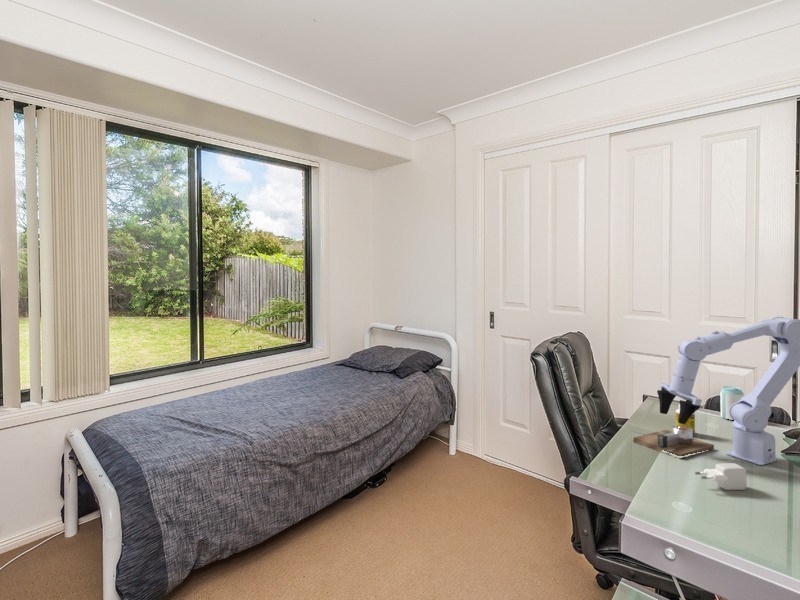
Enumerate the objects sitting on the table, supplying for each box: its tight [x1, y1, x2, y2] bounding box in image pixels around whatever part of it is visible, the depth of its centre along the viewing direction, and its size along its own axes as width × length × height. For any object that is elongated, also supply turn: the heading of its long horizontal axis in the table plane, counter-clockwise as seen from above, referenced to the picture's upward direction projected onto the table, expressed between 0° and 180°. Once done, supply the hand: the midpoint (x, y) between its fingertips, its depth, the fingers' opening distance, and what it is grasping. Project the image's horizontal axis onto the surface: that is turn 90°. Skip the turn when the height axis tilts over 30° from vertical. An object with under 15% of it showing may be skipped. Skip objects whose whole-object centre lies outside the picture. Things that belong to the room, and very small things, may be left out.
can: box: [719, 386, 745, 421], centre depth 161 cm, size 7×7×12 cm
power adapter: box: [694, 462, 748, 491], centre depth 110 cm, size 11×5×6 cm, turn 87°
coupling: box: [658, 425, 694, 448], centre depth 136 cm, size 13×6×5 cm, turn 112°
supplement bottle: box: [675, 403, 696, 435], centre depth 148 cm, size 6×6×10 cm
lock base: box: [632, 429, 715, 456], centre depth 139 cm, size 16×16×2 cm
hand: (672, 418), depth 133 cm, fingers open, 7 cm apart
